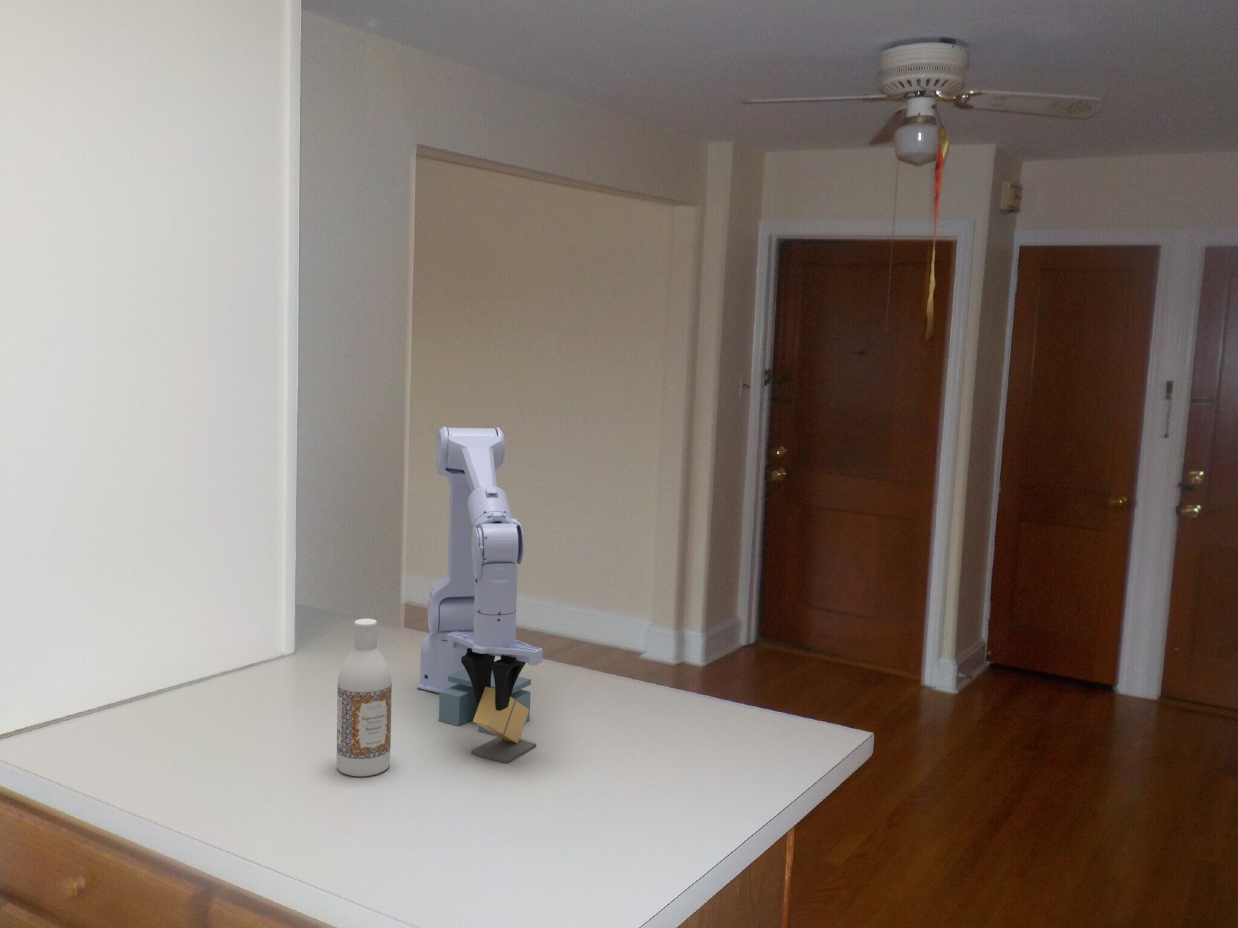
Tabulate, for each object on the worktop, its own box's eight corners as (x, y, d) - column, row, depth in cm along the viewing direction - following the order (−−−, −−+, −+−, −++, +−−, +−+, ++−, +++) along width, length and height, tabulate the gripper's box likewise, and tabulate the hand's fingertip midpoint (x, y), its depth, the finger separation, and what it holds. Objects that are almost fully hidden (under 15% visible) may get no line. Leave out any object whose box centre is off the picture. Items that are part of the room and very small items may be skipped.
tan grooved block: (472, 721, 149) (485, 686, 151) (502, 739, 156) (514, 706, 158) (488, 725, 148) (501, 689, 149) (518, 743, 155) (529, 709, 157)
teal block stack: (438, 720, 163) (439, 679, 163) (470, 705, 170) (471, 666, 170) (499, 736, 158) (500, 693, 158) (529, 720, 165) (530, 679, 165)
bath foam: (347, 781, 140) (349, 630, 138) (329, 762, 146) (331, 617, 144) (398, 771, 144) (400, 624, 142) (378, 753, 150) (381, 612, 148)
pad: (471, 753, 151) (471, 750, 151) (501, 737, 158) (501, 734, 158) (506, 763, 149) (507, 760, 148) (536, 746, 155) (536, 743, 155)
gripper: (434, 607, 149) (432, 703, 150) (523, 624, 142) (520, 725, 143) (465, 597, 155) (462, 690, 156) (552, 613, 148) (548, 710, 150)
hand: (492, 706), depth 150 cm, fingers closed on tan grooved block, 3 cm apart
